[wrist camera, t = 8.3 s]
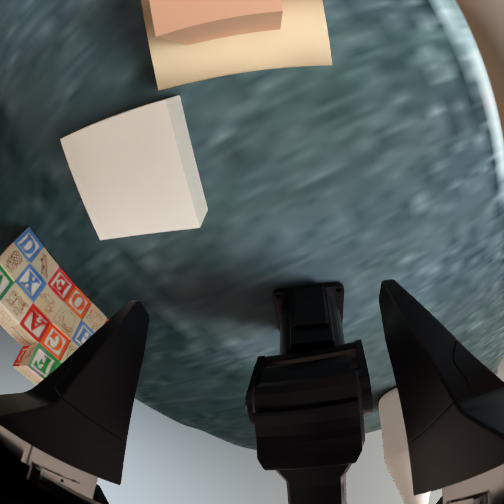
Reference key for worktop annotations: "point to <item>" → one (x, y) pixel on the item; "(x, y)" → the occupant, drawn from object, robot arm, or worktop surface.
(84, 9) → the worktop surface
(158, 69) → the birch slab
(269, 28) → the terracotta cube
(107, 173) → the white plastic slab
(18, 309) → the stack of blocks
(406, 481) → the wine bottle
